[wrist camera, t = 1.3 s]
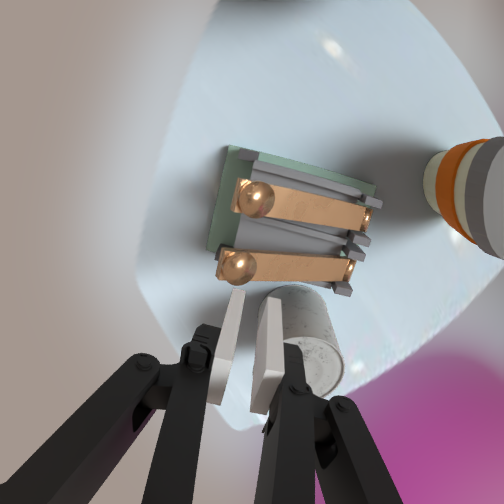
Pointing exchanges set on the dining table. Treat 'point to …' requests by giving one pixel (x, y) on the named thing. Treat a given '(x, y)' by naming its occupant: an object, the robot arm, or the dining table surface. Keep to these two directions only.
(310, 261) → the strap
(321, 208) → the strap
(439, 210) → the reusable coffee cup
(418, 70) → the dining table surface
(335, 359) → the gray concrete cylinder
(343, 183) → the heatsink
